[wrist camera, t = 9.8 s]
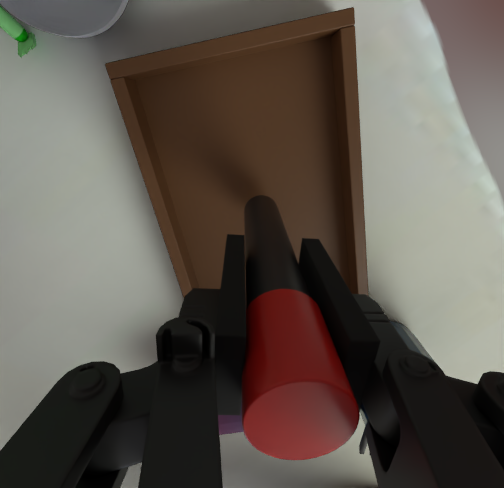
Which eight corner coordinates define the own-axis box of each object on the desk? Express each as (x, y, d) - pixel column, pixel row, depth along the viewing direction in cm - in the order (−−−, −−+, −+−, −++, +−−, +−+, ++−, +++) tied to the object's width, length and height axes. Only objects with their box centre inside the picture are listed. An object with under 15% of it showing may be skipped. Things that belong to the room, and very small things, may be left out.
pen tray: (358, 303, 26) (370, 322, 24) (205, 330, 27) (201, 351, 25) (339, 20, 18) (354, 6, 16) (121, 69, 19) (104, 63, 17)
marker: (282, 224, 21) (364, 451, 7) (246, 232, 21) (254, 468, 7) (276, 189, 20) (356, 370, 6) (238, 197, 20) (229, 392, 6)
